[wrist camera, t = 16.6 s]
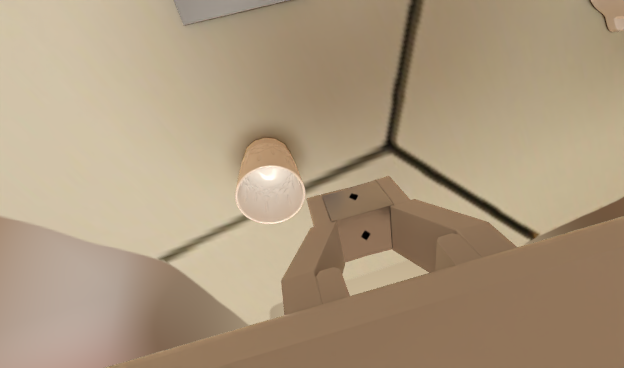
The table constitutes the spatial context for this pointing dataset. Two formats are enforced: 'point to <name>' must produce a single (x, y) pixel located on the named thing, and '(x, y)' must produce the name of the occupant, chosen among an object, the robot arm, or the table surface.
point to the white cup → (269, 183)
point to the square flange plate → (216, 8)
